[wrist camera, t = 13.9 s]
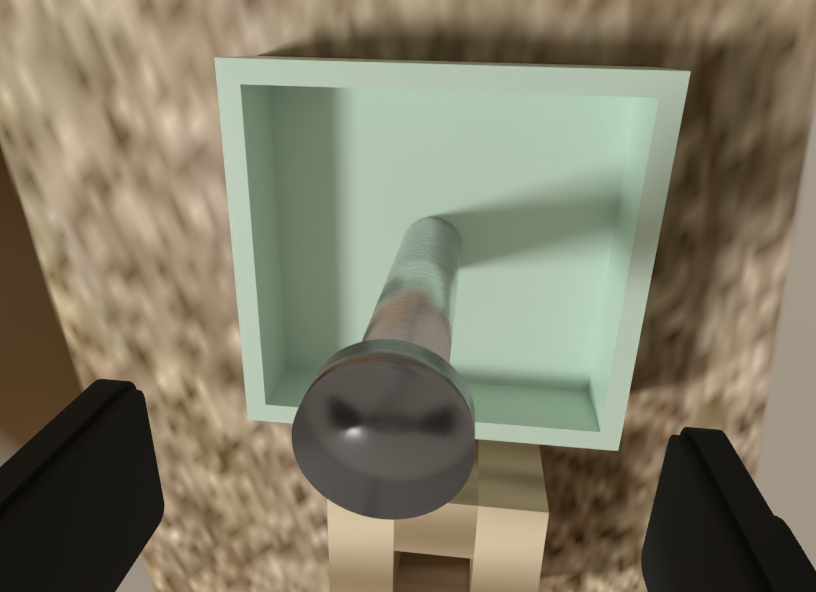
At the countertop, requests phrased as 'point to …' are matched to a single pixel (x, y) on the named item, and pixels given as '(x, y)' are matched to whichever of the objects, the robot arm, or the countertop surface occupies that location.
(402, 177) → the tray
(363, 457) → the steel pin
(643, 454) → the countertop surface
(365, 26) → the countertop surface
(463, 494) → the hitch block
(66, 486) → the robot arm
